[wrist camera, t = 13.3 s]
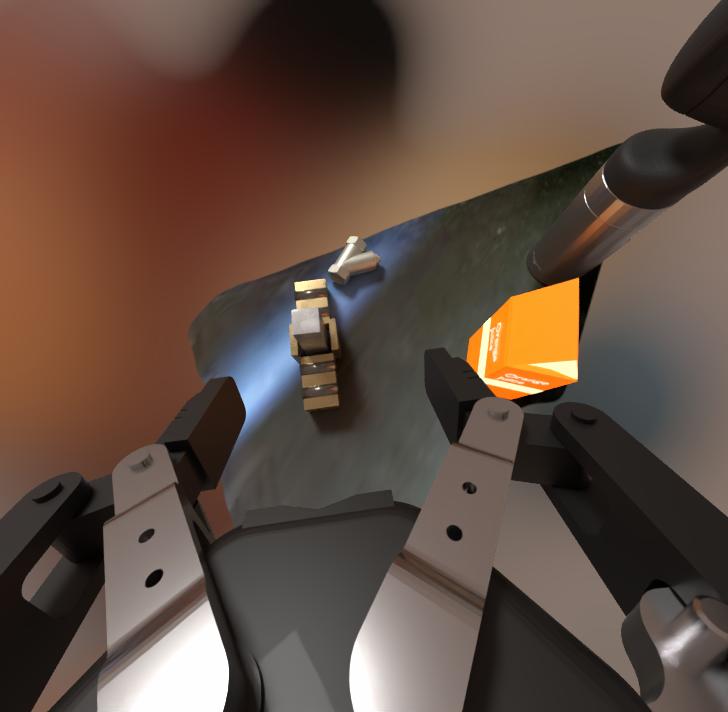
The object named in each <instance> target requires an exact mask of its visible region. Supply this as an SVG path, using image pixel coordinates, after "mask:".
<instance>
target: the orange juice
mask: <svg viewBox="0 0 728 712" xmlns="http://www.w3.org/2000/svg"><path fill="white" fill-rule="evenodd" d="M578 333H579V278H576V279H573V280H569V281H566V282H562V283H559V284H556V285H552V286H549V287H545V288H542V289H538V290H535V291H532V292H528V293H525V294H521V295H518V296H512V297H511V298H510V299H509V300H508V301H507V302H506V303H505V304H504V305H503V306H502V307H501V308H500V309H499V310H498V311H497V312H496V313H495V314H494V315H493V316H492V317H490V318H489V319H488V320H487V321H486V322H485V323H484V325H483V326H482V327H481V328H480V329H479V330H478V331H477V332H476V333H475V334H474V335H473V336H472V337H471V338H470V341H469V348H468V355H467V362H468V363H469V364H470V365H471V367H472V368H473V369H474V371H476V373H477V374H478V375H479V377H480V378H481V379H482V380H483V381H484V382H485V383H486V385H487V386H488V387H489V388H490V389H491V391H492V392H493V393H494V394H495V395H496V396H497V397H501V398H506V399H510V400H511V399H515V398H519V397H522V396H526V395H530V394H535V393H538V392H542V391H544V390H548V389H551V388H555V387H558V386H562V385H566V384H569V383H573V382H576V381H577V376H578Z"/></svg>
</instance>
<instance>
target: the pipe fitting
mask: <svg viewBox="0 0 728 712" xmlns="http://www.w3.org/2000/svg"><path fill="white" fill-rule="evenodd" d="M366 250H367V245H366V243H365V242H364V241H363V240H362V239H361V238H359V237H356V236H352V237H349V239H348V241H347V242H346V247H345V248H344V250H343V251H342V253H341V255H340V256H339V258H338V259H337V261H336V263H335V264H334V265H332V266H331V267H330V269H329V271H328V275H329V277H330V278H331V279H332V280H333V281H334V282H335V283H337V284H339V285H346V284H347V283H348V281H349V279H350V276H354V275H358V274H362V273H365V272H369V271H373V270H376V266H377V265H379V262H381V258H380V256H377V255H376V254H374V253H373V252H372V251H369V252H366Z"/></svg>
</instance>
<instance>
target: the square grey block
mask: <svg viewBox="0 0 728 712" xmlns="http://www.w3.org/2000/svg"><path fill="white" fill-rule="evenodd" d="M291 311H292V334H293V336H294V338H295V339H296V340H297V342H298V343H299V344H300V346H301V347H302V348H303V350H304V351H305V352H306V354H307V355H308V356H315V355H322V354H329V353H331V347H330V336H329V334H328V331H327V328H326V326H325V323H324V321H323V318H322V316H321V313H320V311H319V308H318V307H314V308H305V309H296V310H291Z"/></svg>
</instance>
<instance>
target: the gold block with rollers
mask: <svg viewBox="0 0 728 712" xmlns="http://www.w3.org/2000/svg"><path fill="white" fill-rule="evenodd" d="M294 295H295V301H296V305H297V309H305V308H314V307H318V308H319V311H320V313H321V316H322V318H323V321H324V323H325V326H326V328H327V331H328V332H330V338H331V347H332V351H333V353H329V354H322V355H315V356H307V357H305V351H304V350H303V348H302V347H301V346H300V344H299V343H298V342H297V340H296V339H295V338H294V336H293V334H292V324H289V328H290V343H291V356H292V357H293V358H294V359H295V360H296V361H297V362H298V363H299V364H301V365H300V373H301V376H302V384H303V387H302V398H303V400H304V410H305V411H307V412H316V411H323V410H330V409H337V408H341V401H340V392H339V383H338V374H337V365H336V359H341V358H342V356H341V347H340V339H339V331H338V327H337V323H336V320H335V318H332V319H331V312H330V304H329V295H328V288H327V284H326V281H325V279H318V280H311V281H303V282H296V283H295V292H294Z"/></svg>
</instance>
